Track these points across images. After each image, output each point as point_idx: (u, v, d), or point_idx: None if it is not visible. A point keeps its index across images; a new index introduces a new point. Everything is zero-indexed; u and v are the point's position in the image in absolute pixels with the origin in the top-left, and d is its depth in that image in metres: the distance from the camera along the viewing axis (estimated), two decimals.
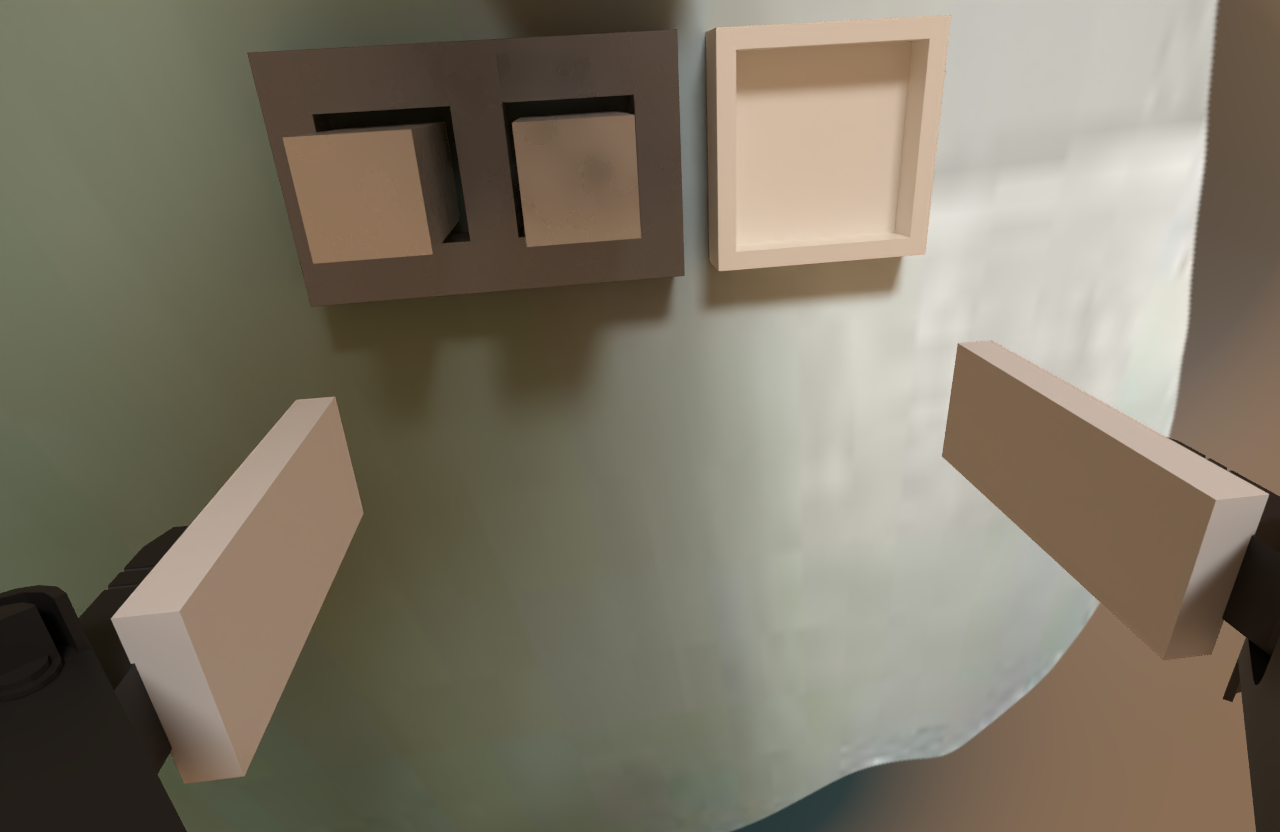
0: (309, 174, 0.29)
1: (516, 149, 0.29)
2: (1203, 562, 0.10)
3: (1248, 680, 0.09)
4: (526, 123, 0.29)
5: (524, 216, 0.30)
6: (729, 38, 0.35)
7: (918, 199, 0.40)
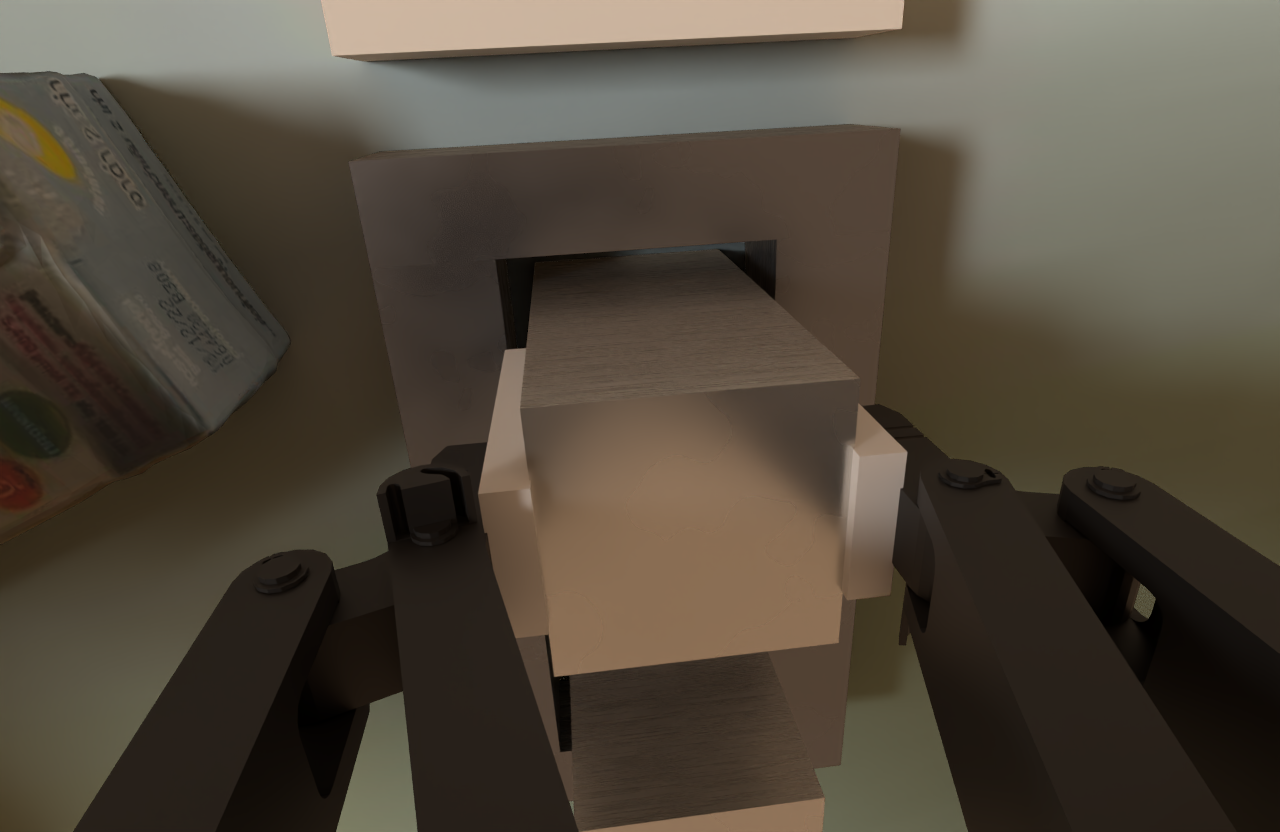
0: None
1: (613, 667, 0.12)
2: (863, 512, 0.11)
3: (916, 628, 0.11)
4: (554, 649, 0.12)
5: (767, 649, 0.12)
6: (350, 17, 0.14)
7: None
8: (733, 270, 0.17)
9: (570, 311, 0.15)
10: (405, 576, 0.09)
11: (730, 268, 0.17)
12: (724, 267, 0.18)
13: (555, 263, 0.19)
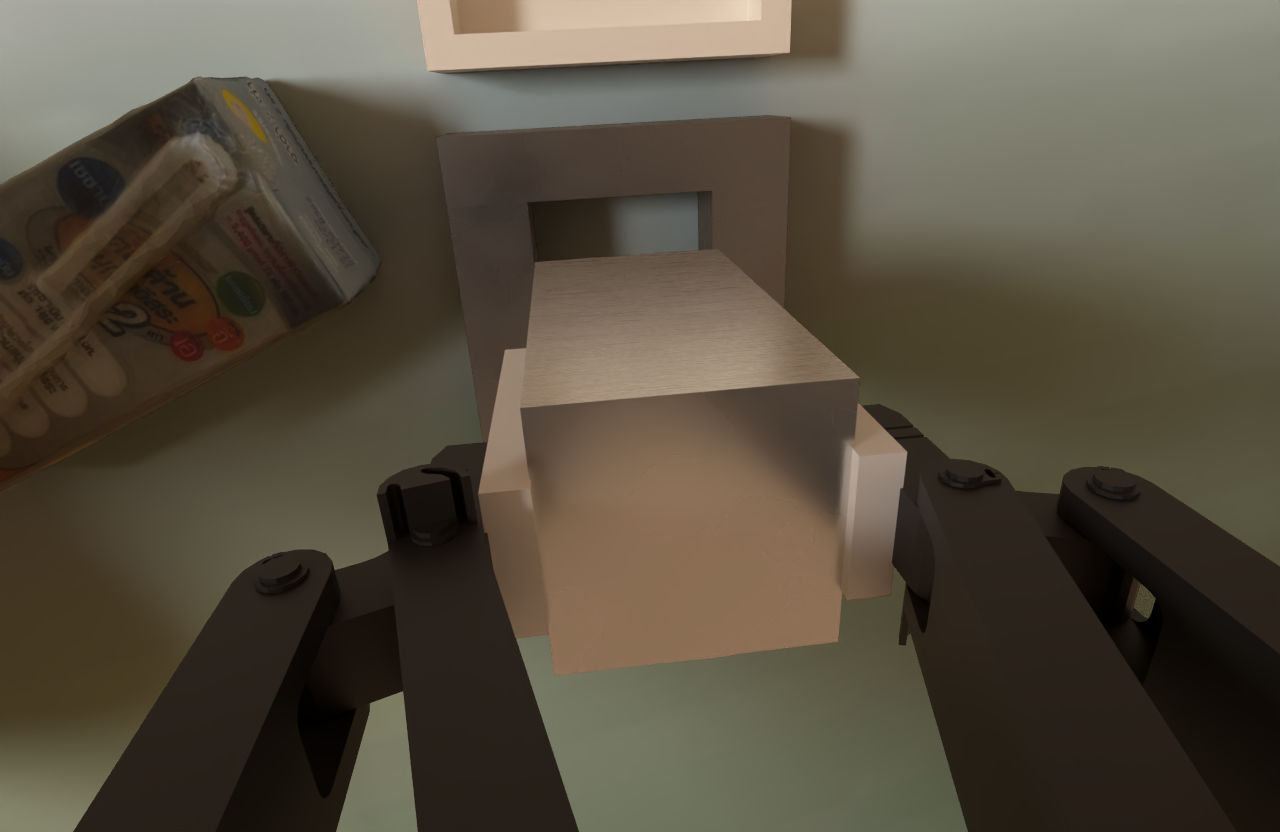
0: None
1: (613, 666, 0.12)
2: (863, 512, 0.11)
3: (915, 628, 0.11)
4: (554, 648, 0.12)
5: (766, 648, 0.13)
6: (439, 47, 0.23)
7: None
8: (733, 270, 0.17)
9: (570, 311, 0.15)
10: (406, 576, 0.09)
11: (730, 268, 0.17)
12: (724, 267, 0.18)
13: (555, 263, 0.19)
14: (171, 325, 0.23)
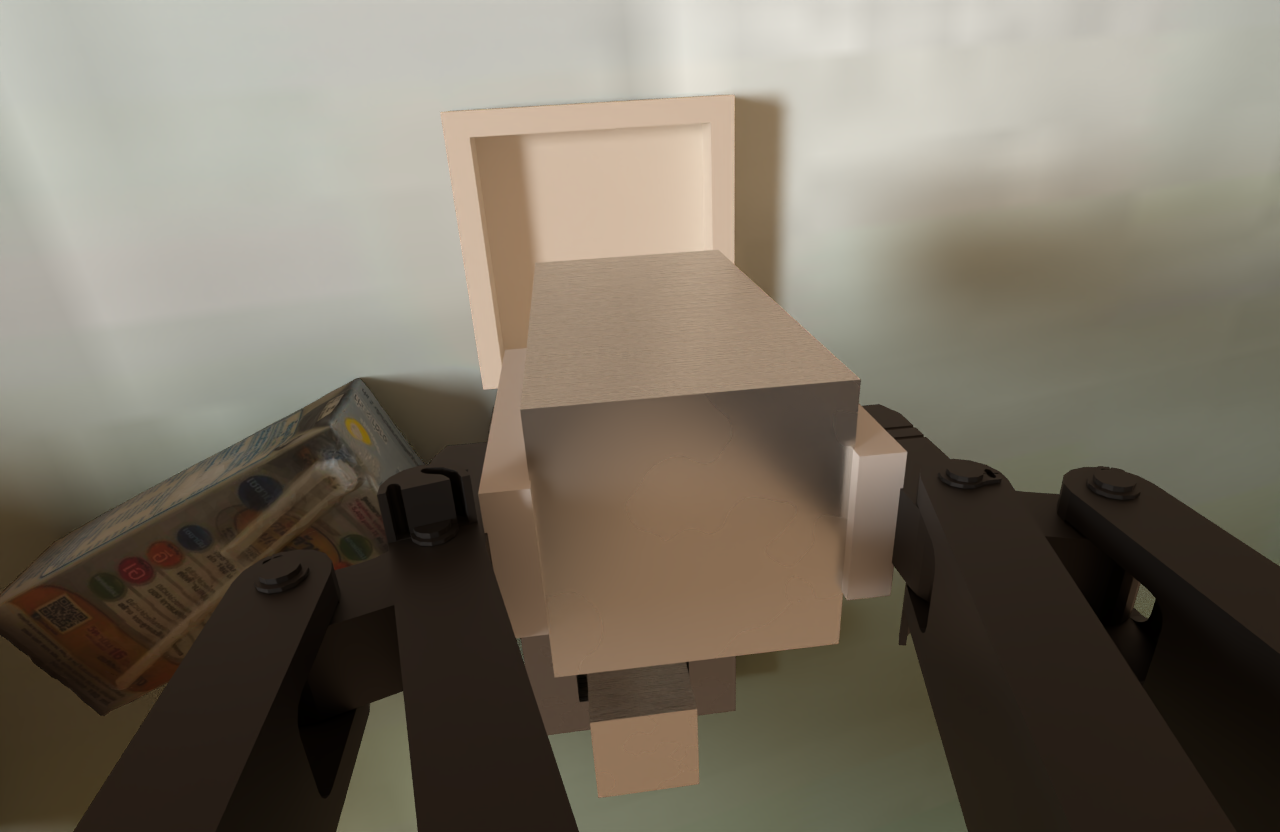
0: (626, 783, 0.35)
1: (613, 668, 0.12)
2: (863, 512, 0.11)
3: (915, 628, 0.11)
4: (554, 650, 0.12)
5: (767, 650, 0.12)
6: (492, 375, 0.33)
7: (661, 118, 0.30)
8: (733, 271, 0.17)
9: (570, 312, 0.15)
10: (406, 576, 0.09)
11: (730, 269, 0.17)
12: (724, 268, 0.18)
13: (555, 264, 0.19)
14: None
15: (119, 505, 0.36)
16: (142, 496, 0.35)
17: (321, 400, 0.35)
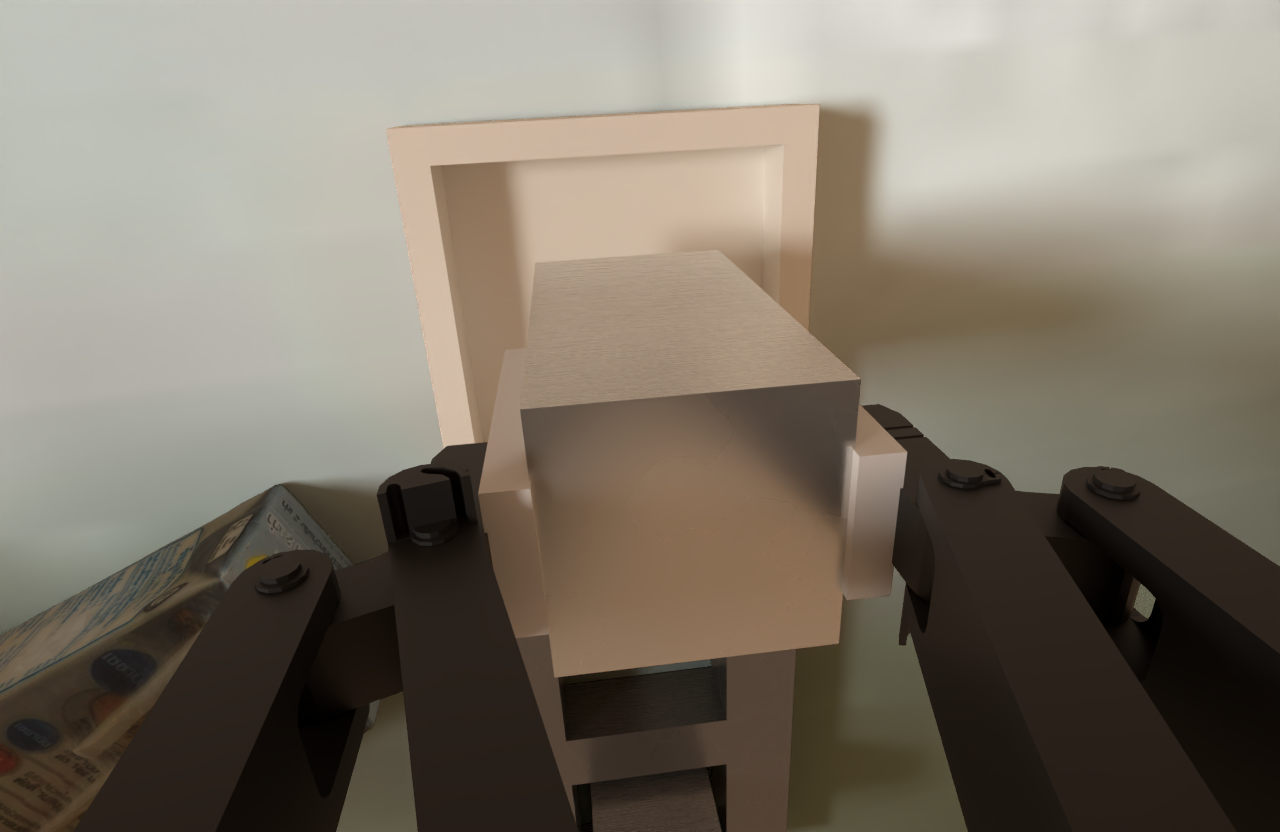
0: None
1: (614, 668, 0.12)
2: (862, 512, 0.11)
3: (915, 628, 0.11)
4: (555, 650, 0.12)
5: (767, 649, 0.12)
6: None
7: (712, 138, 0.20)
8: (733, 270, 0.17)
9: (570, 311, 0.15)
10: (405, 576, 0.09)
11: (730, 268, 0.17)
12: (724, 267, 0.18)
13: (555, 263, 0.19)
14: None
15: None
16: None
17: (227, 516, 0.25)
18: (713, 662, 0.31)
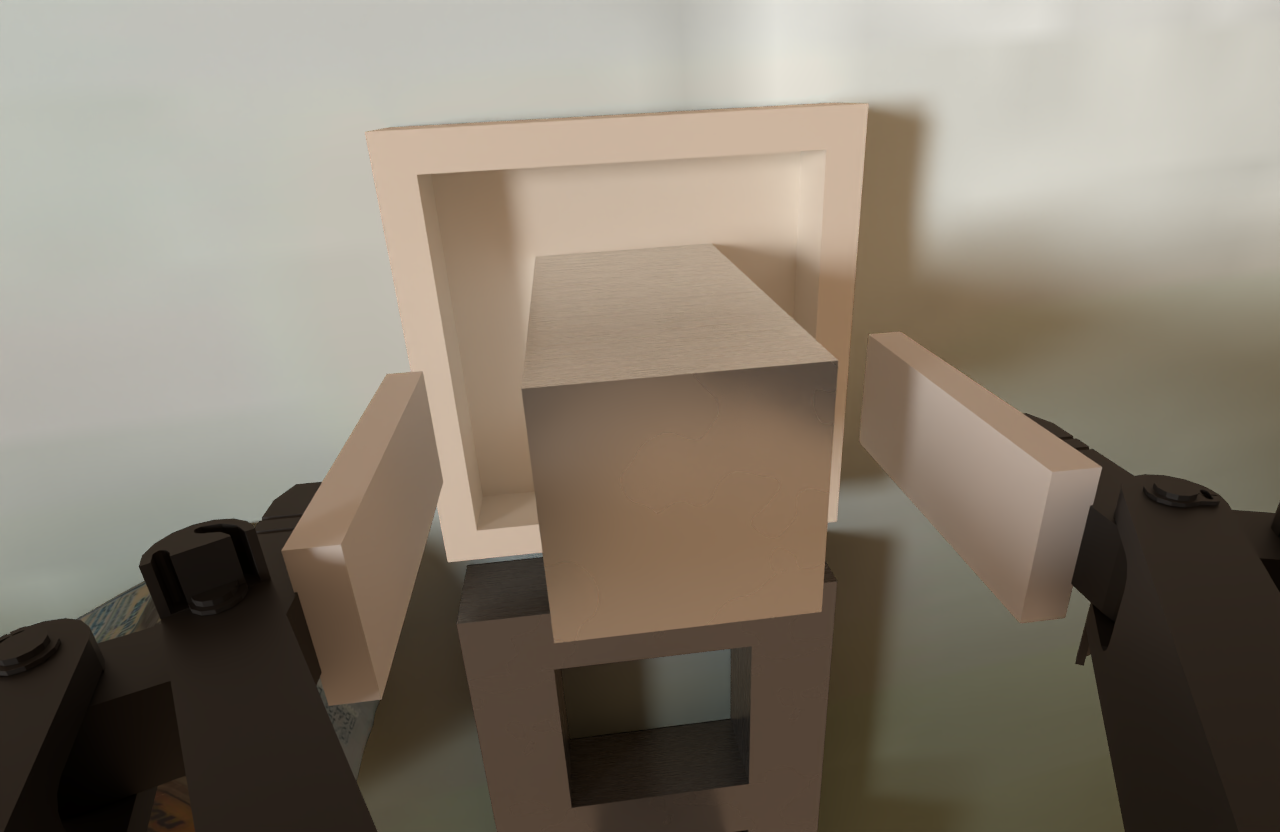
0: None
1: (610, 634, 0.13)
2: (1047, 530, 0.11)
3: (1096, 646, 0.10)
4: (554, 617, 0.13)
5: (754, 617, 0.13)
6: (461, 541, 0.21)
7: (744, 143, 0.17)
8: (725, 263, 0.18)
9: (568, 301, 0.15)
10: (185, 654, 0.08)
11: (722, 261, 0.18)
12: (716, 260, 0.18)
13: (554, 257, 0.20)
14: None
15: None
16: None
17: None
18: (733, 716, 0.28)
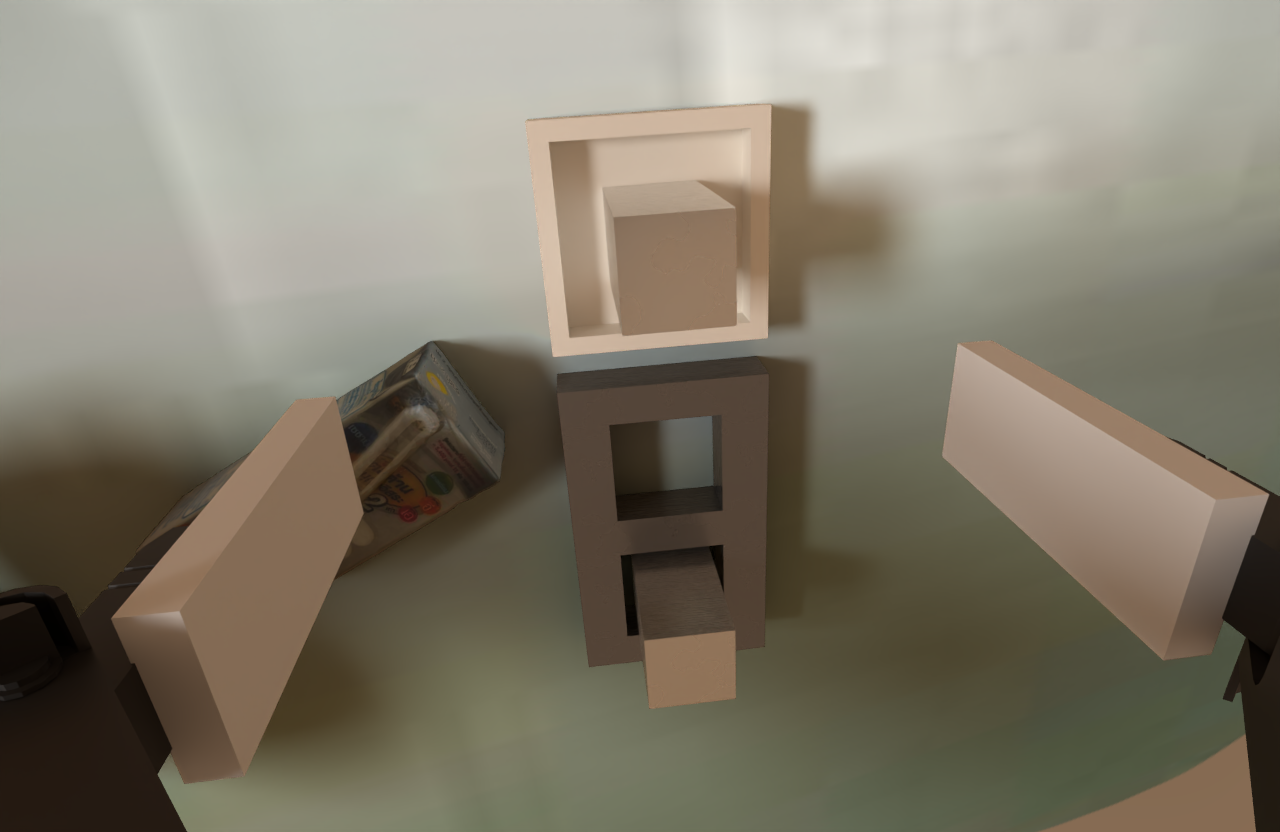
0: (673, 696, 0.41)
1: (645, 332, 0.31)
2: (1203, 562, 0.10)
3: (1248, 680, 0.09)
4: (622, 323, 0.31)
5: (707, 327, 0.31)
6: (560, 344, 0.39)
7: (709, 125, 0.35)
8: (700, 186, 0.36)
9: (624, 199, 0.33)
10: None
11: (699, 185, 0.36)
12: (696, 185, 0.36)
13: (612, 187, 0.38)
14: (399, 503, 0.39)
15: (236, 461, 0.42)
16: None
17: (401, 361, 0.41)
18: (714, 480, 0.46)
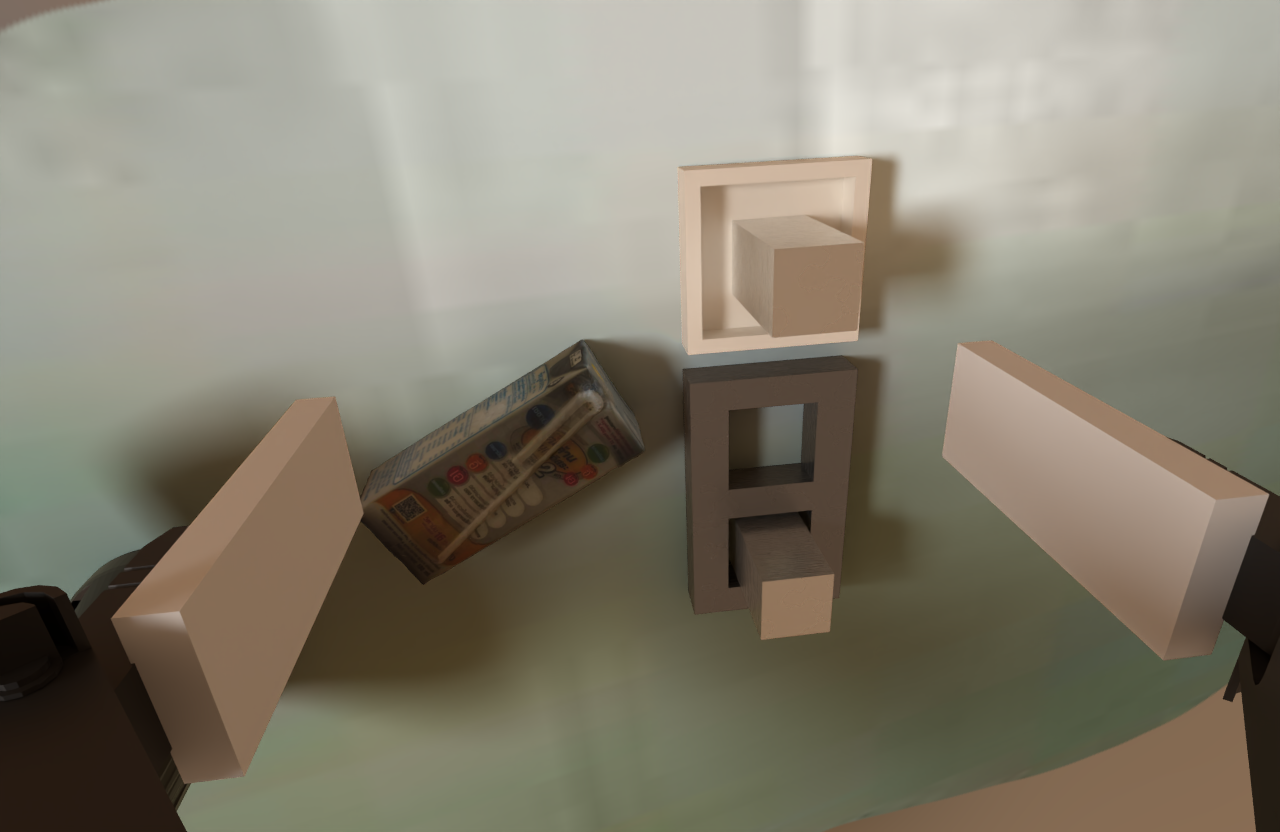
0: (781, 629, 0.50)
1: (789, 335, 0.41)
2: (1203, 562, 0.10)
3: (1248, 680, 0.09)
4: (773, 327, 0.40)
5: (835, 331, 0.41)
6: (695, 345, 0.49)
7: (824, 174, 0.45)
8: (815, 221, 0.46)
9: (765, 232, 0.43)
10: None
11: (814, 220, 0.46)
12: (811, 220, 0.46)
13: (741, 220, 0.47)
14: (565, 470, 0.48)
15: None
16: (438, 432, 0.51)
17: (558, 356, 0.50)
18: (803, 458, 0.56)
